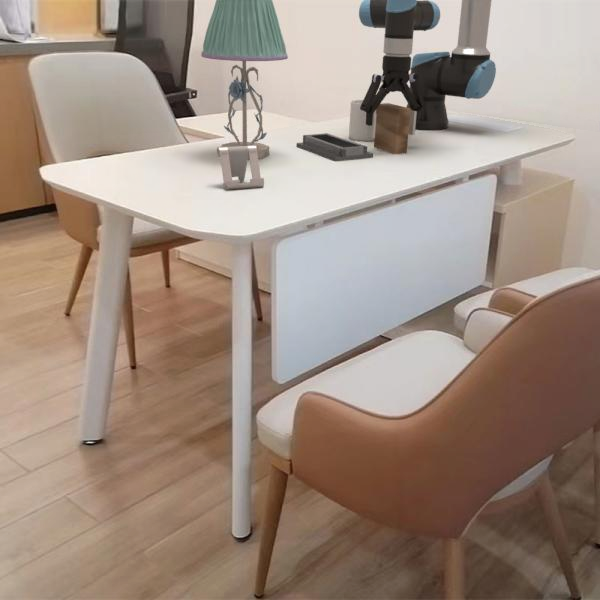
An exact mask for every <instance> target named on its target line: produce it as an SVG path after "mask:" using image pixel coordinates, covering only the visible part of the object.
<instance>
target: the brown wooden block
mask: <svg viewBox="0 0 600 600" xmlns="http://www.w3.org/2000/svg"><path fill="white" fill-rule="evenodd" d="M406 107H407V106H406ZM406 107H405V106H402V105H397V104H393V103H391V102H390V103H389V102H385V103H384V102H383V103H380V105H379V106H378V108H377V109H376V114H377V115H376V129H375V138H374V142H373V148H375V149H377V150H380V151H384V152H387V153H391V154H393V155H401V154H402V153H403V154H407V153H408V143H409V134H408V133H409V122H410V110H411V108H406Z"/></svg>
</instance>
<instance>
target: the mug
mask: <svg viewBox="0 0 600 600" xmlns="http://www.w3.org/2000/svg"><path fill="white" fill-rule="evenodd" d="M363 100H364V99H354V100H351V101H350V110H349V112H350V113H349V131H348V135H349V136H348V137H349V139H350V140H351V141H352V140H353V141H356V140H357V142H373V141H374V138H369V137H367V127H368V125H366V112H364V111H362V110H360V107H361V104H362V102H363ZM374 113H375V114H376V110H375V112H374Z"/></svg>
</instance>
